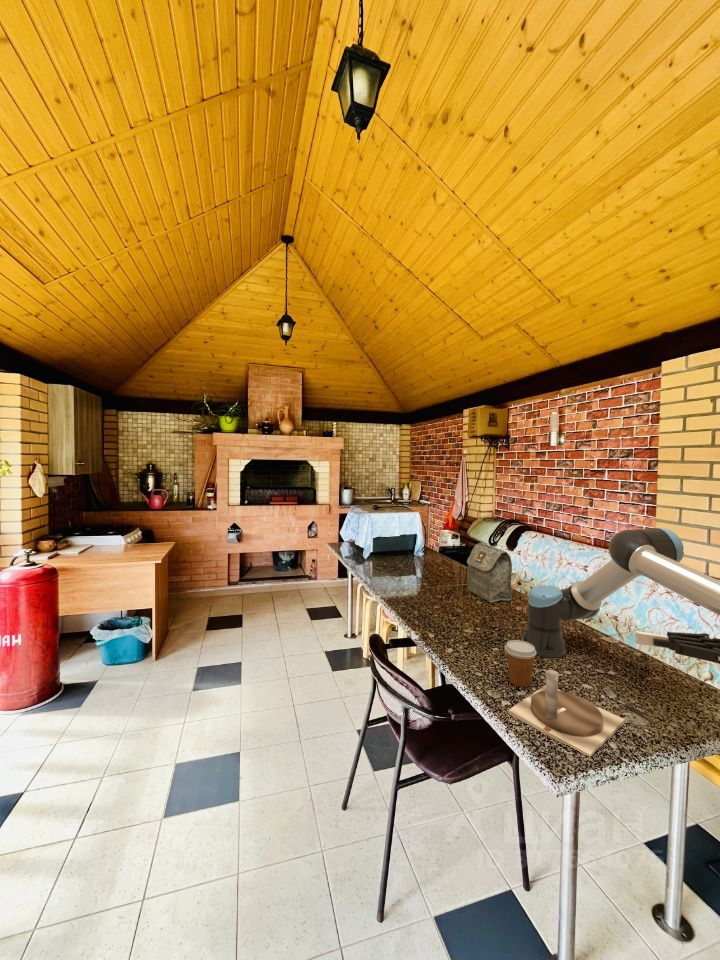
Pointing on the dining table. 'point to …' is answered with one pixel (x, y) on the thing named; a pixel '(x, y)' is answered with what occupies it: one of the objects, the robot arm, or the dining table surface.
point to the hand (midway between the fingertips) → (636, 637)
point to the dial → (565, 709)
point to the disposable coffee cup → (520, 662)
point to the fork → (627, 705)
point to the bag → (489, 573)
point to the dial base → (577, 742)
